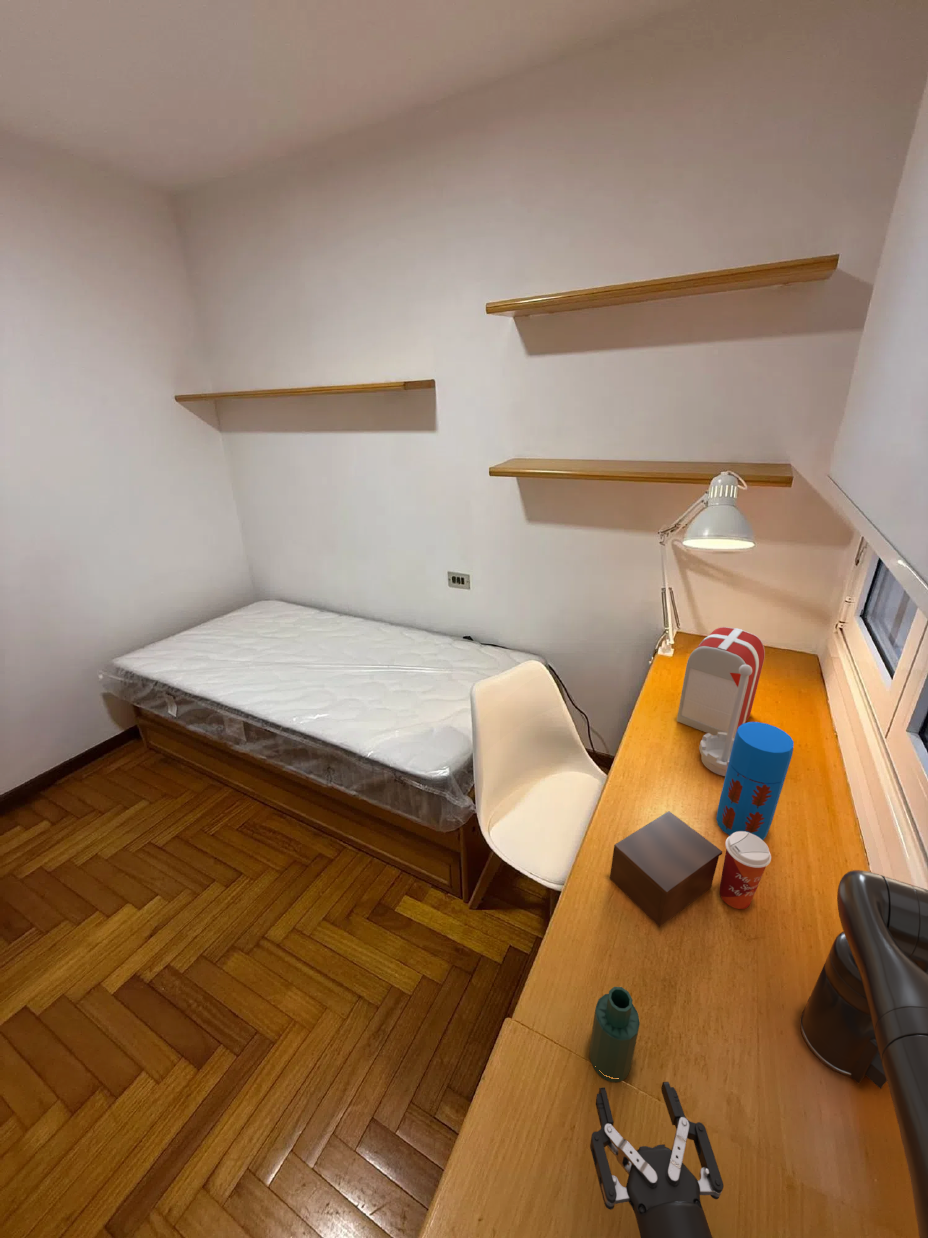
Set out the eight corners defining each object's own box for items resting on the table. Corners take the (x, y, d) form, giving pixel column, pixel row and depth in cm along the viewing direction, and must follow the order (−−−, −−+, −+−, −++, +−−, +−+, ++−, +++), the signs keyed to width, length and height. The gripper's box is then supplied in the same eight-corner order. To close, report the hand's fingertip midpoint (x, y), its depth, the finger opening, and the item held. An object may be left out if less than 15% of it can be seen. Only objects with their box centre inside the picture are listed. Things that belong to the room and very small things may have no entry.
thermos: (774, 847, 113) (803, 756, 103) (721, 840, 115) (744, 750, 105) (759, 810, 123) (784, 724, 112) (710, 804, 125) (730, 719, 114)
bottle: (639, 1065, 78) (652, 1005, 71) (610, 1092, 75) (621, 1033, 68) (609, 1027, 82) (619, 968, 76) (581, 1051, 79) (588, 992, 73)
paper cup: (732, 919, 98) (747, 867, 92) (704, 884, 105) (717, 834, 99) (766, 908, 100) (783, 856, 94) (737, 875, 107) (751, 825, 101)
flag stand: (762, 776, 133) (790, 676, 121) (715, 783, 131) (739, 681, 119) (730, 745, 145) (753, 650, 132) (687, 750, 143) (706, 655, 131)
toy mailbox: (675, 720, 156) (689, 640, 144) (696, 695, 168) (710, 620, 156) (733, 743, 145) (753, 659, 134) (751, 714, 157) (771, 635, 146)
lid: (668, 813, 111) (668, 810, 111) (722, 854, 101) (722, 851, 101) (613, 847, 103) (614, 844, 103) (666, 895, 93) (666, 892, 93)
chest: (659, 845, 114) (665, 815, 111) (711, 887, 104) (719, 856, 101) (609, 878, 107) (613, 847, 103) (659, 927, 97) (666, 895, 93)
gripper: (617, 1299, 55) (578, 1106, 70) (747, 1286, 56) (681, 1097, 70) (625, 1273, 52) (582, 1076, 67) (762, 1259, 53) (690, 1067, 67)
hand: (633, 1087), depth 69 cm, fingers open, 8 cm apart
